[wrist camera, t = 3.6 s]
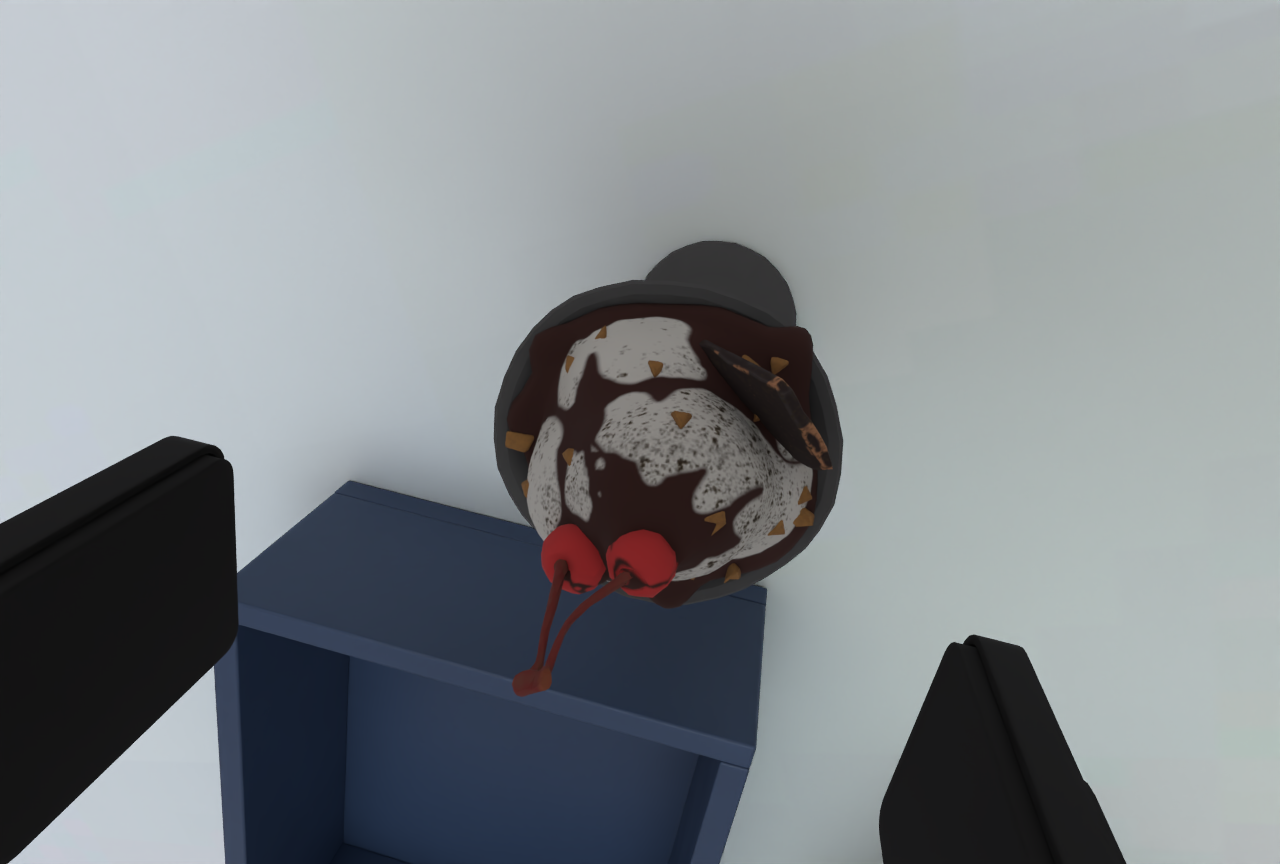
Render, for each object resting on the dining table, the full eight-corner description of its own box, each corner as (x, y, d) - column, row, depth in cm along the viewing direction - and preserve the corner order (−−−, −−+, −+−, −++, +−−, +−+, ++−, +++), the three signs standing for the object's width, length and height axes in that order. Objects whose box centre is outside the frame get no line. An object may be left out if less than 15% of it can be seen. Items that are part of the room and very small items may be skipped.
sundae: (607, 416, 26) (393, 759, 12) (609, 205, 23) (342, 341, 10) (811, 435, 25) (827, 834, 11) (837, 217, 22) (901, 388, 9)
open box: (348, 479, 29) (208, 595, 22) (767, 587, 27) (756, 748, 20) (338, 831, 36) (232, 997, 29) (665, 931, 35) (633, 1132, 28)
